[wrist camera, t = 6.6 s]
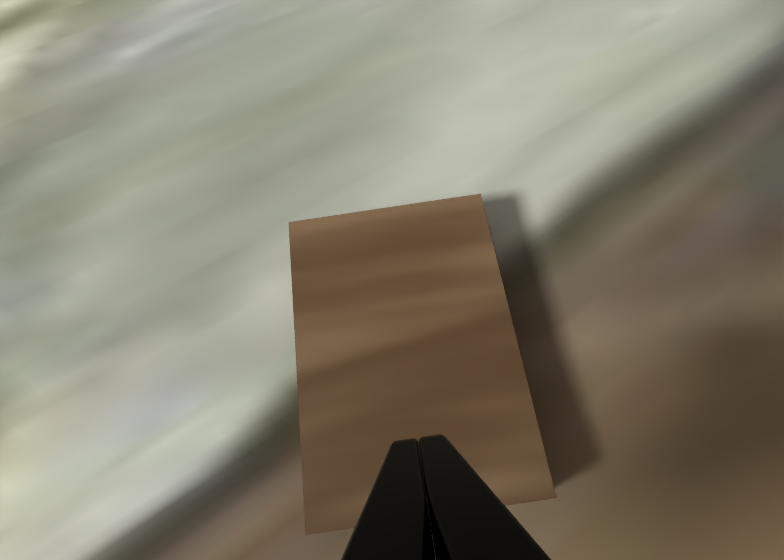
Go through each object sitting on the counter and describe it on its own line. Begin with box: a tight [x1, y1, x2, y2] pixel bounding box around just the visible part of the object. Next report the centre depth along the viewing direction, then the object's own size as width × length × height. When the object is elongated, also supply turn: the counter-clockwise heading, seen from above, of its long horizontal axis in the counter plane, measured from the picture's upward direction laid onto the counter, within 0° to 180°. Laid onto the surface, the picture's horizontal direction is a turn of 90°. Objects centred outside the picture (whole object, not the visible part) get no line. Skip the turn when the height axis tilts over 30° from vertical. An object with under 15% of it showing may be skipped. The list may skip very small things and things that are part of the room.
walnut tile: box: [289, 194, 556, 535], centre depth 15 cm, size 2×7×10 cm
